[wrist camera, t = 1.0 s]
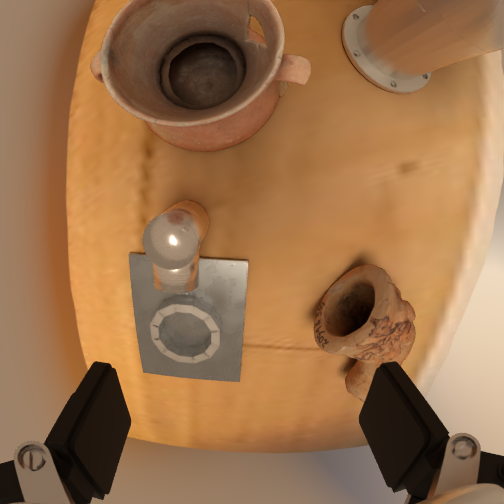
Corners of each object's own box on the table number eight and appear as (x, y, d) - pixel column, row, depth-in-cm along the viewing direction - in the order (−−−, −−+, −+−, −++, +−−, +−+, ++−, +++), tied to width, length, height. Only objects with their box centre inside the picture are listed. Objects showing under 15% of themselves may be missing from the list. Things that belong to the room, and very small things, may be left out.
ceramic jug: (298, 45, 26) (332, -20, 12) (276, 164, 30) (304, 166, 17) (143, 30, 24) (93, -27, 11) (118, 144, 29) (42, 140, 15)
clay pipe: (400, 259, 38) (319, 246, 32) (456, 289, 28) (384, 286, 23) (356, 366, 43) (276, 377, 37) (395, 406, 33) (313, 433, 27)
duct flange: (130, 252, 32) (122, 260, 30) (248, 259, 33) (248, 268, 30) (144, 369, 38) (139, 382, 35) (239, 379, 39) (239, 392, 36)
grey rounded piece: (167, 199, 31) (142, 213, 23) (210, 201, 31) (198, 215, 23) (167, 261, 33) (145, 292, 25) (207, 264, 33) (197, 297, 25)
